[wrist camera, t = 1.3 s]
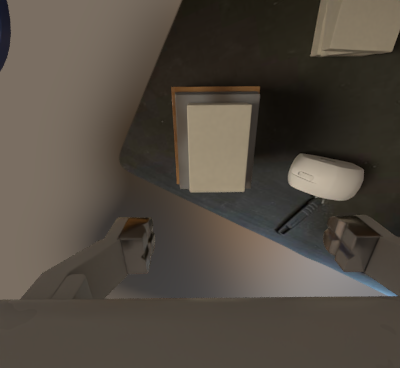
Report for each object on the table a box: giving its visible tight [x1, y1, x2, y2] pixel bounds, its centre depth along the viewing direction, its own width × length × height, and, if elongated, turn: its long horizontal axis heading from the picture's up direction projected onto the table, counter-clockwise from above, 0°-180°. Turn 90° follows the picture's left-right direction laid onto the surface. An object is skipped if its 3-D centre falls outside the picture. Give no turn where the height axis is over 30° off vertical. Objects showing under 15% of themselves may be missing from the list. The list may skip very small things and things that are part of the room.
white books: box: [311, 0, 400, 57], centre depth 27 cm, size 9×10×6 cm
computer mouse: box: [288, 153, 364, 201], centre depth 37 cm, size 6×13×6 cm, turn 78°
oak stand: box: [171, 86, 260, 189], centre depth 30 cm, size 10×12×14 cm
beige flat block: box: [187, 103, 252, 192], centre depth 22 cm, size 6×9×2 cm, turn 0°
